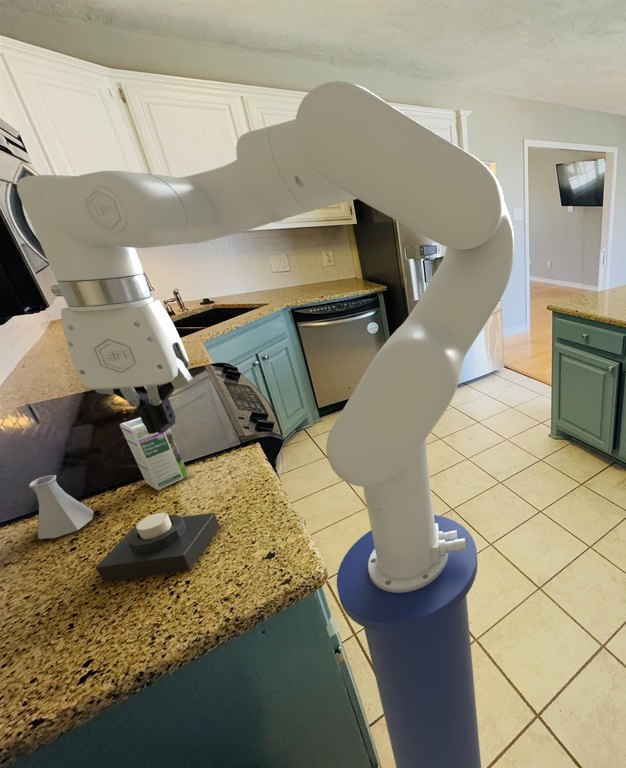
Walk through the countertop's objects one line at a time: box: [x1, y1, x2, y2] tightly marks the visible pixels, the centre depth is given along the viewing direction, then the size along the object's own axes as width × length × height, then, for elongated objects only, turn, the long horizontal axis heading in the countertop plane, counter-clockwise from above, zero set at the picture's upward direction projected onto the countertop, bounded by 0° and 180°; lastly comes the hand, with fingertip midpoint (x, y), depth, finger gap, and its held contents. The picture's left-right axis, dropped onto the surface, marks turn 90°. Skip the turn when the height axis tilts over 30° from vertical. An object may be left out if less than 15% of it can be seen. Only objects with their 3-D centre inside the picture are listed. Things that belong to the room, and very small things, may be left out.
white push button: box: [135, 512, 172, 540], centre depth 66 cm, size 4×4×2 cm
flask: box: [28, 474, 94, 540], centre depth 72 cm, size 7×7×10 cm
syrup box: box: [119, 416, 189, 492], centre depth 84 cm, size 6×6×14 cm
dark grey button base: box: [95, 512, 220, 583], centre depth 67 cm, size 12×10×5 cm
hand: (162, 428), depth 55 cm, fingers closed
